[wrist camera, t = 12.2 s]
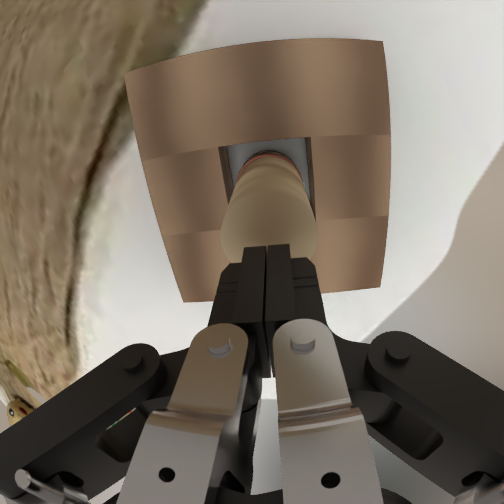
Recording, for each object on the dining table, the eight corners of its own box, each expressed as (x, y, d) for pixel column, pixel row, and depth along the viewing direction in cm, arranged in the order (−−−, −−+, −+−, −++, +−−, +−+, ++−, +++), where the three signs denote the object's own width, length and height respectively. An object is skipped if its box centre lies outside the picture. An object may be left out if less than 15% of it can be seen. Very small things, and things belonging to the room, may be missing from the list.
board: (191, 280, 26) (183, 302, 23) (142, 74, 17) (123, 73, 14) (370, 266, 24) (380, 287, 21) (367, 47, 15) (382, 41, 12)
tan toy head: (41, 410, 56) (28, 437, 47) (35, 414, 60) (24, 438, 51) (14, 390, 52) (1, 417, 43) (12, 396, 57) (0, 420, 48)
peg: (245, 201, 22) (228, 282, 13) (237, 148, 19) (210, 197, 11) (299, 196, 21) (319, 275, 13) (295, 142, 19) (317, 186, 10)
